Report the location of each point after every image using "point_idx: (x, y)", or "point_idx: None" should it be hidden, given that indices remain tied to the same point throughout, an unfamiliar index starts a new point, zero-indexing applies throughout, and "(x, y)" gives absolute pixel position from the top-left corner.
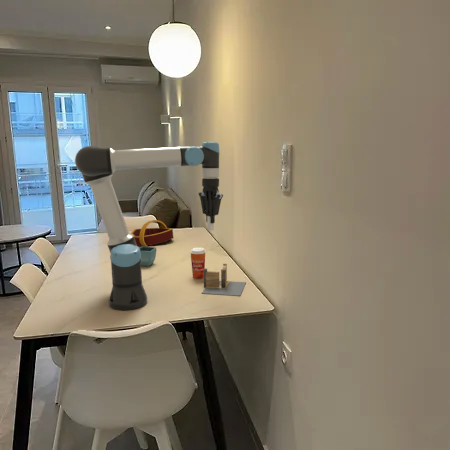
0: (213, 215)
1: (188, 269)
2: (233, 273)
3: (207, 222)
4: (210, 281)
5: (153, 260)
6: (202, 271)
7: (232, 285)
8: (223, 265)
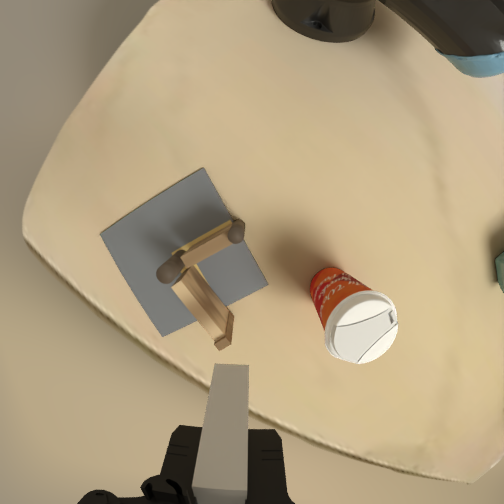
0: (133, 500)
1: (401, 318)
2: (254, 379)
3: (243, 421)
4: (216, 233)
5: (501, 282)
6: (313, 294)
7: (171, 289)
8: (224, 335)
